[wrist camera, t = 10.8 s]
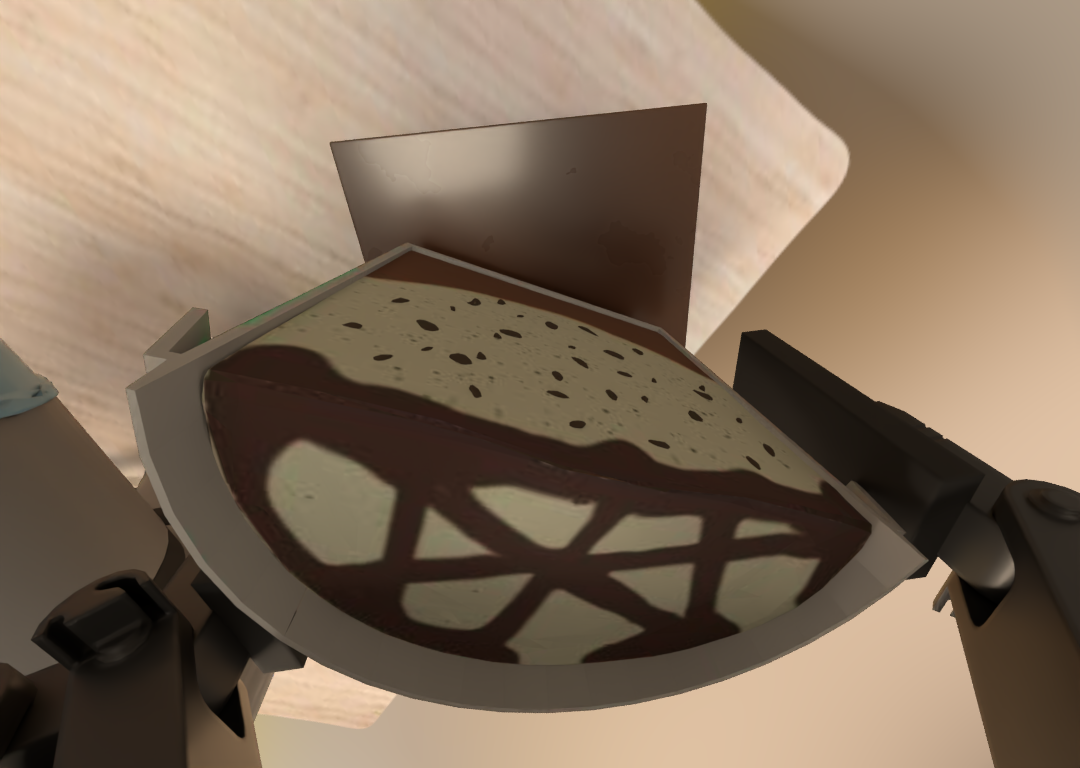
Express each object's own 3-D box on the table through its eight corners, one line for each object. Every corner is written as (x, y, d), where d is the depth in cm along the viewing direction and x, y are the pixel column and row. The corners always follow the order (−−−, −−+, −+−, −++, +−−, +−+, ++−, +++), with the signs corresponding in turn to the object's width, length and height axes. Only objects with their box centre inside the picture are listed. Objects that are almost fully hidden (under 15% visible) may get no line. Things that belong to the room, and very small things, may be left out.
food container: (330, 392, 15) (114, 707, 6) (357, 225, 13) (56, 373, 4) (626, 462, 18) (749, 740, 10) (695, 339, 16) (952, 565, 7)
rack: (455, 379, 31) (434, 496, 20) (403, 146, 23) (328, 142, 13) (615, 359, 31) (675, 463, 21) (614, 124, 24) (707, 102, 13)
